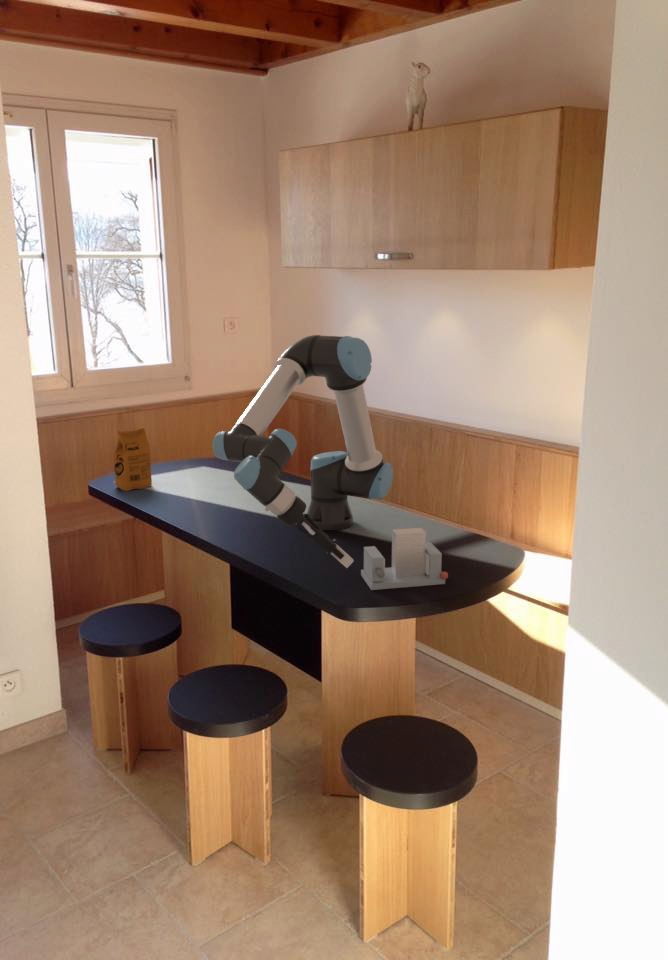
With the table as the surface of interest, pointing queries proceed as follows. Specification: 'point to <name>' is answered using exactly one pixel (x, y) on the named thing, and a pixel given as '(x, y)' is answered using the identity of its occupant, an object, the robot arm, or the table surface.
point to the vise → (431, 576)
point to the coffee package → (132, 460)
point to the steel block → (408, 552)
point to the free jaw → (374, 564)
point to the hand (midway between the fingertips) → (349, 563)
